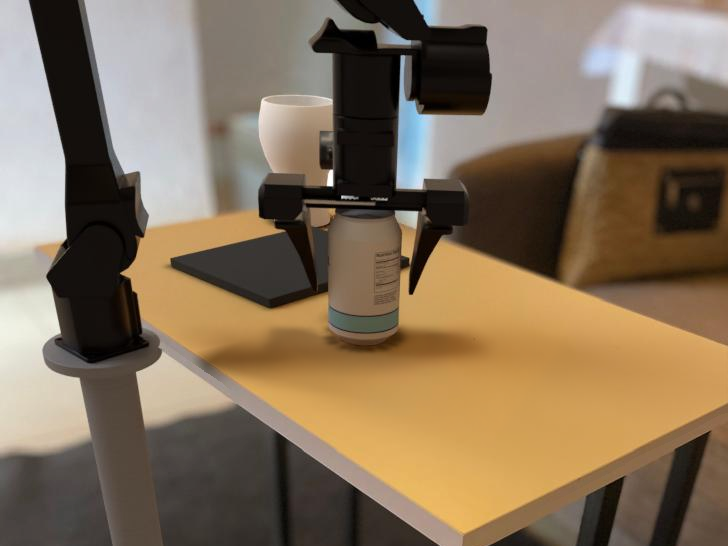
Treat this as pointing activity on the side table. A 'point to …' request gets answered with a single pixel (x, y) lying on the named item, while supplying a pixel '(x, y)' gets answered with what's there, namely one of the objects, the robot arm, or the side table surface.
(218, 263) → the mat
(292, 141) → the cup
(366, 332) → the beverage can
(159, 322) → the side table surface
